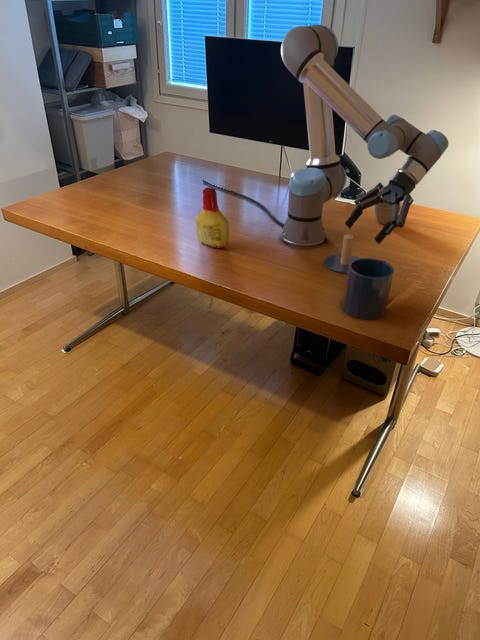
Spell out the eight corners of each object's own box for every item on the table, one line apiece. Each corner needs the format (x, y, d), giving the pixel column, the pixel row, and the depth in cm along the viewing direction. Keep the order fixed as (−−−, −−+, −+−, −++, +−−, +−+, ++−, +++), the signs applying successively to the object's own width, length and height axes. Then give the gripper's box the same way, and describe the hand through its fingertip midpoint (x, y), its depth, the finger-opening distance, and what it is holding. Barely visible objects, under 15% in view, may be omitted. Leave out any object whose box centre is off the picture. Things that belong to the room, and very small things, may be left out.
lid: (316, 266, 152) (319, 237, 146) (337, 253, 160) (341, 224, 154) (351, 280, 145) (356, 249, 139) (372, 265, 153) (377, 236, 147)
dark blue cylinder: (334, 308, 132) (339, 268, 125) (355, 292, 139) (362, 253, 132) (372, 324, 125) (380, 283, 118) (392, 307, 133) (401, 267, 126)
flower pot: (398, 228, 178) (402, 209, 174) (371, 225, 180) (374, 207, 176) (396, 218, 186) (400, 200, 182) (370, 216, 188) (373, 198, 184)
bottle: (192, 244, 165) (190, 187, 154) (203, 237, 170) (201, 181, 159) (222, 252, 160) (221, 193, 149) (232, 245, 165) (232, 188, 154)
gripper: (443, 197, 140) (395, 255, 142) (383, 174, 158) (341, 225, 160) (434, 182, 135) (384, 242, 137) (373, 160, 153) (330, 213, 155)
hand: (361, 233), depth 149 cm, fingers open, 13 cm apart
